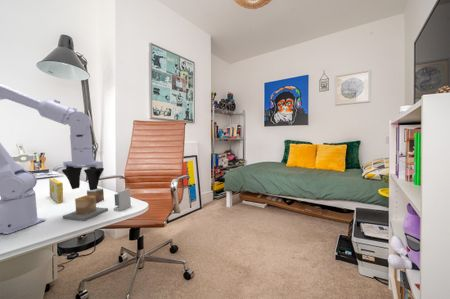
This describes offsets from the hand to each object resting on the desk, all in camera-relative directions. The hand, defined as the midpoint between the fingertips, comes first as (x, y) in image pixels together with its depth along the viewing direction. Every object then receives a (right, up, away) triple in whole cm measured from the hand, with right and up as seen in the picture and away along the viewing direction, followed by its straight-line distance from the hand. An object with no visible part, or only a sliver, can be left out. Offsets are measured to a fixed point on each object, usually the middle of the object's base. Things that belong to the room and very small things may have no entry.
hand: (84, 188), depth 68 cm
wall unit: (+10, -8, +6) cm, 14 cm away
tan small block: (0, -8, +1) cm, 8 cm away
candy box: (-25, -8, +19) cm, 32 cm away
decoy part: (-5, -8, +14) cm, 17 cm away
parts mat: (0, -9, +1) cm, 9 cm away
